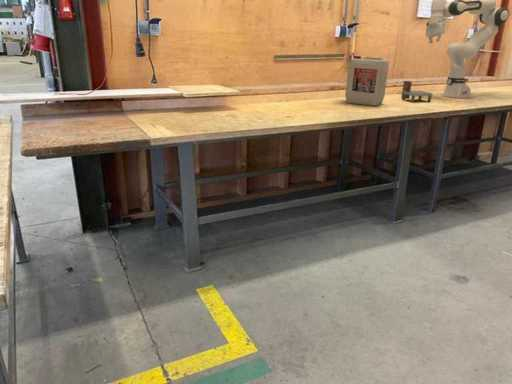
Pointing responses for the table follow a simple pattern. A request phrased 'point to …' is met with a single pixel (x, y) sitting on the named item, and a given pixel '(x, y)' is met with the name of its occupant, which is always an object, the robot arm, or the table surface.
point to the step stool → (417, 93)
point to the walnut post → (406, 87)
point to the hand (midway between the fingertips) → (434, 42)
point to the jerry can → (366, 80)
